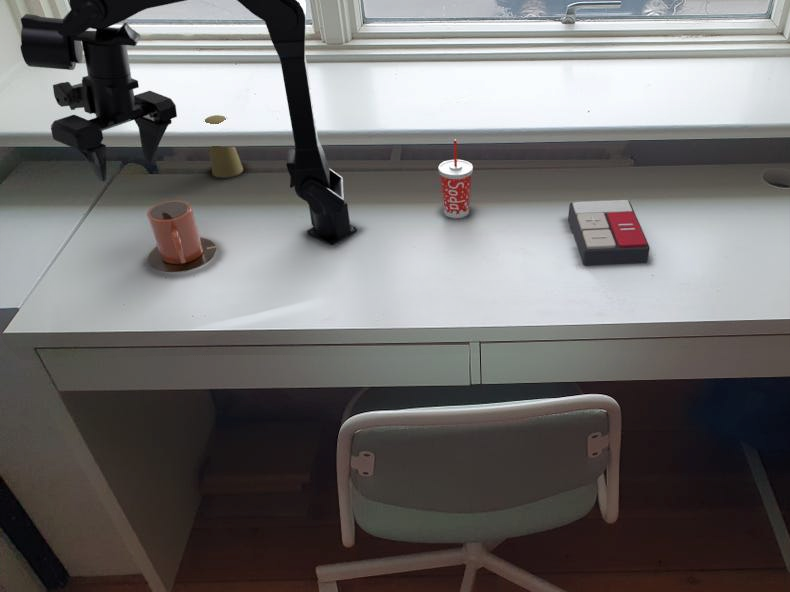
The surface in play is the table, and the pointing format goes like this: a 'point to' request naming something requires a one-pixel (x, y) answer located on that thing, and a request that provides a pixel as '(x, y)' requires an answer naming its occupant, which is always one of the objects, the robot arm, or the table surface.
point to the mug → (175, 231)
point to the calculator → (607, 232)
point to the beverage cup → (456, 185)
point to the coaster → (161, 265)
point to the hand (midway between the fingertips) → (126, 170)
